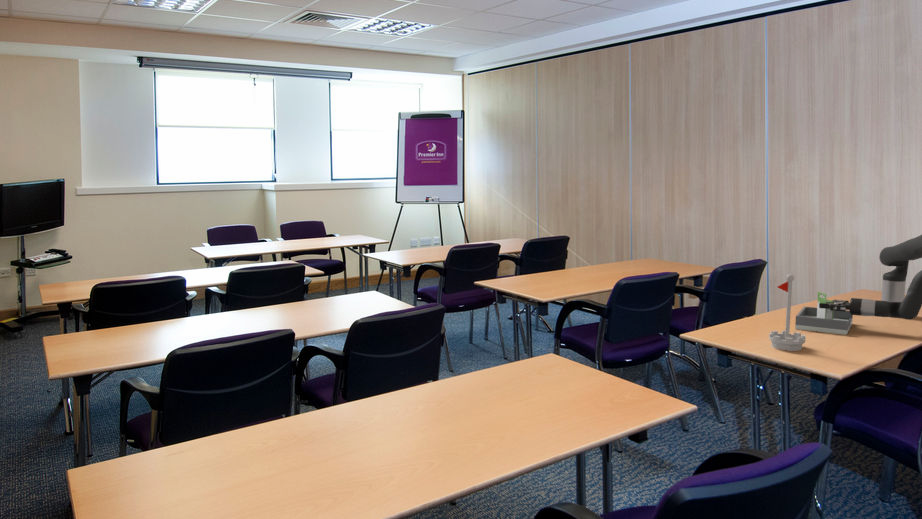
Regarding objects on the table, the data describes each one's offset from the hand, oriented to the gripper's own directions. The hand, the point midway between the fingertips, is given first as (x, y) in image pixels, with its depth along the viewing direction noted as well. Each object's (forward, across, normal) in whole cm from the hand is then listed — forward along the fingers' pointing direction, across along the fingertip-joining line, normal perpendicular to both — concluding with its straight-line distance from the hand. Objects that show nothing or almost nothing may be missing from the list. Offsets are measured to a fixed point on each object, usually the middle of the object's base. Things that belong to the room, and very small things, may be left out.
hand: (820, 303), depth 290 cm
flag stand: (+6, +46, +11) cm, 47 cm away
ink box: (-2, 0, +8) cm, 8 cm away
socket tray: (-2, 0, +10) cm, 10 cm away
